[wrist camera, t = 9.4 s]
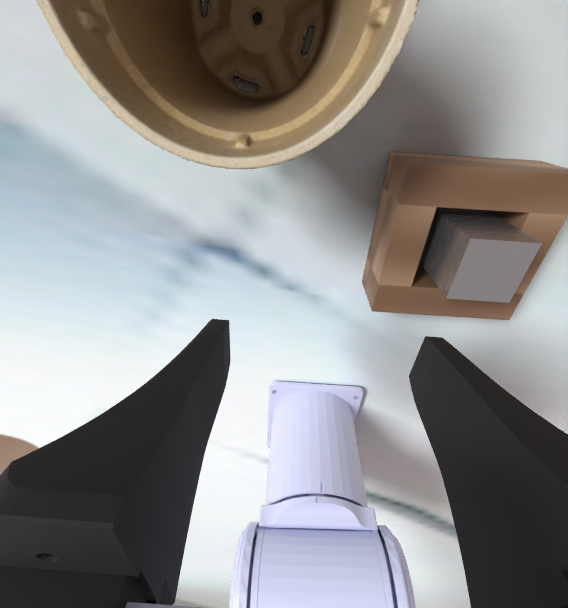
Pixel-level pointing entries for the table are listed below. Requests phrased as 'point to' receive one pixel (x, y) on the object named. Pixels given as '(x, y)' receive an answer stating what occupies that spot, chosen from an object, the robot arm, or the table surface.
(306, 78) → the flower pot
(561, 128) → the table surface
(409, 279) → the block
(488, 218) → the square bit
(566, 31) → the table surface
